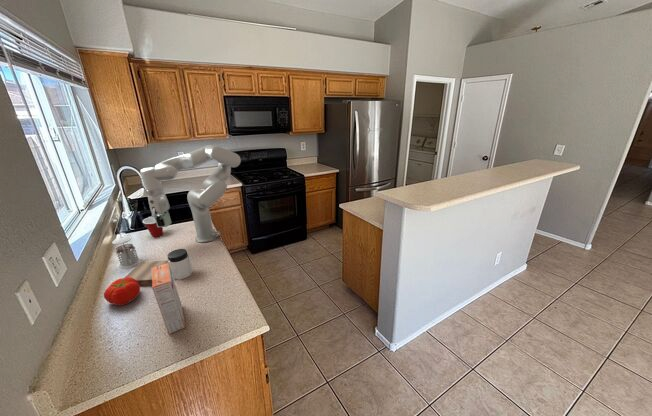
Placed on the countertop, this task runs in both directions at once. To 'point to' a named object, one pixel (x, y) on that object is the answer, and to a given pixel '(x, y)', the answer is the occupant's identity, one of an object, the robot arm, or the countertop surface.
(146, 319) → the countertop surface
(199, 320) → the countertop surface
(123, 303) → the tomato
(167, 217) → the sage block
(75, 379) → the countertop surface
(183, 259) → the jar
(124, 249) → the french press
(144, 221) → the plastic cup
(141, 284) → the walnut base
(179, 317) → the cracker box
